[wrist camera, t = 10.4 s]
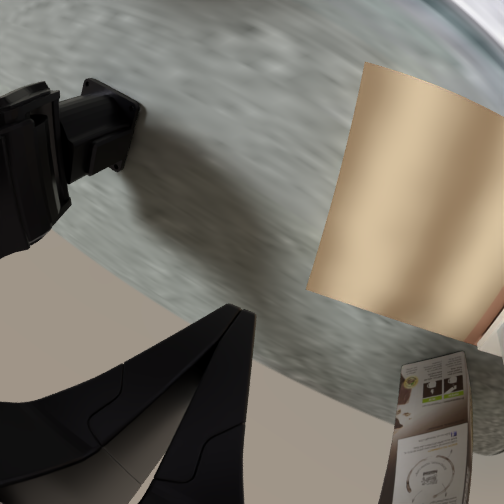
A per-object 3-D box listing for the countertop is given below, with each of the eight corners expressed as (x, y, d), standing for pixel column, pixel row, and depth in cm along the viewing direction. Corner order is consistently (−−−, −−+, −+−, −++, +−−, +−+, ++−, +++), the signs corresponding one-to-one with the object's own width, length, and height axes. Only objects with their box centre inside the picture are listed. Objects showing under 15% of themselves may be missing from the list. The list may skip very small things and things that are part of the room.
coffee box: (398, 364, 25) (363, 541, 12) (465, 348, 21) (458, 537, 9) (418, 412, 27) (391, 551, 15) (473, 400, 24) (461, 546, 11)
